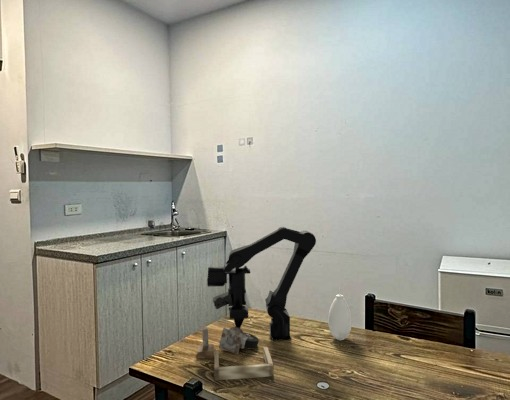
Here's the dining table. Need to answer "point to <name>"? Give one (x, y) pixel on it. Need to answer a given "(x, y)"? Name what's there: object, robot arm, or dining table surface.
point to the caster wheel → (237, 340)
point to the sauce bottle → (340, 318)
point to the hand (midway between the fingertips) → (237, 329)
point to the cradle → (244, 368)
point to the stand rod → (205, 347)
